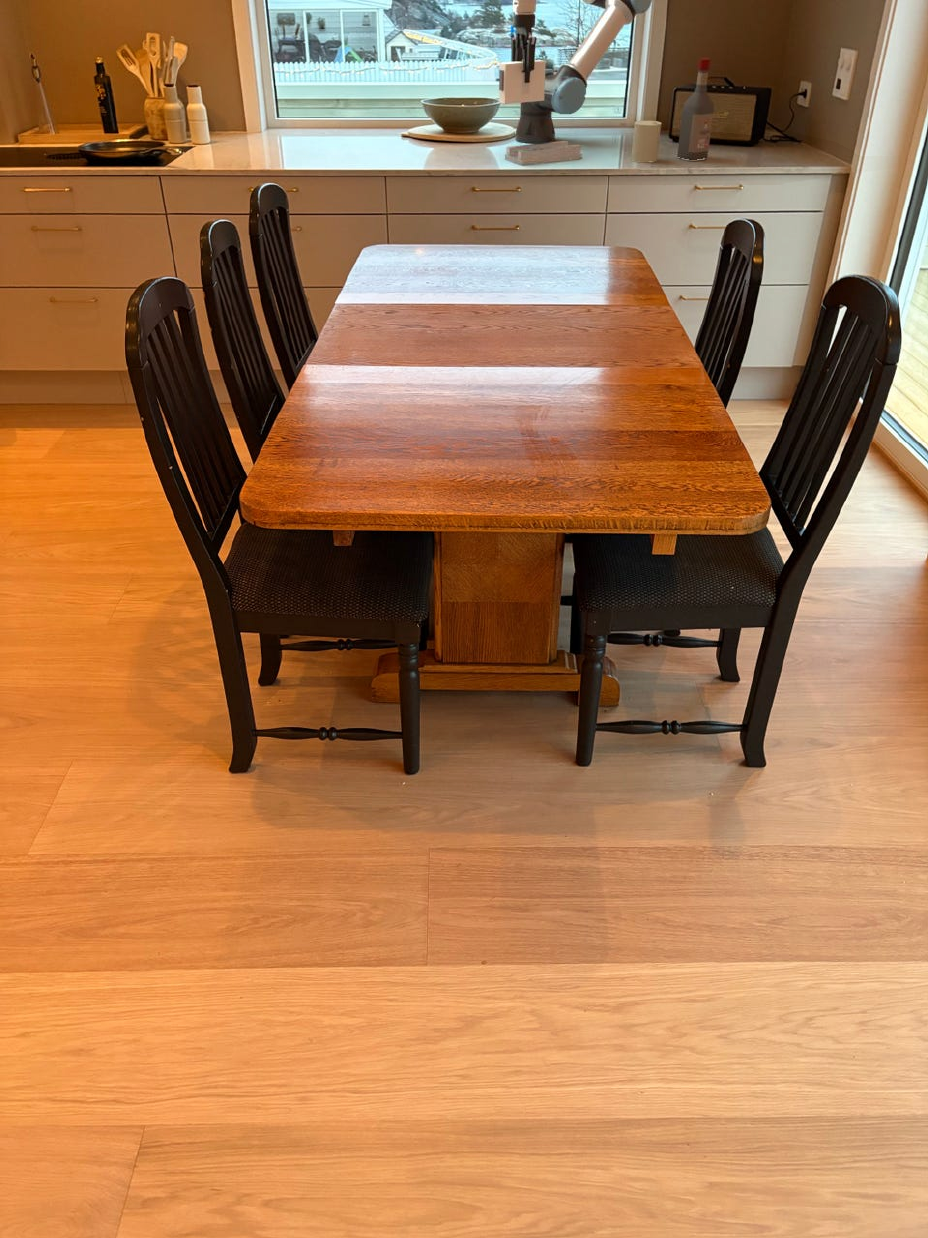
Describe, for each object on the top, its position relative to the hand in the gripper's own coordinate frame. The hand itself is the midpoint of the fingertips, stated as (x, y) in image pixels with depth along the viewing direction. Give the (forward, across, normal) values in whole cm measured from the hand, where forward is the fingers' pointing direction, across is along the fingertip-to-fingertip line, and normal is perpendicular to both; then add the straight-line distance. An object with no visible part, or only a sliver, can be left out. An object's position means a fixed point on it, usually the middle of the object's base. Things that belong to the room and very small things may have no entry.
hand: (521, 92), depth 328 cm
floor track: (+19, +16, 0) cm, 24 cm away
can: (+19, +34, +30) cm, 49 cm away
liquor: (+19, +40, +46) cm, 64 cm away
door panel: (+3, 0, 0) cm, 3 cm away
